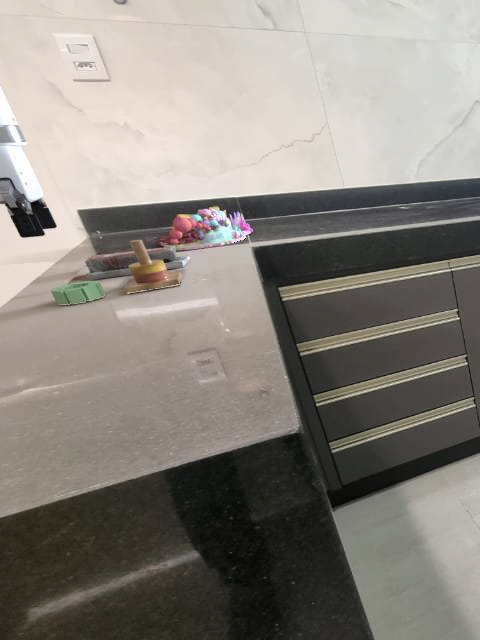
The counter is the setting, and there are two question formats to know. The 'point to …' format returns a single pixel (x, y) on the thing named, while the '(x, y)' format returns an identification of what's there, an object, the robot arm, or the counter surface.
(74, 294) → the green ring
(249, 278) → the counter surface
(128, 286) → the stacking stand
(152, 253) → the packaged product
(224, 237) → the candy landscape model
